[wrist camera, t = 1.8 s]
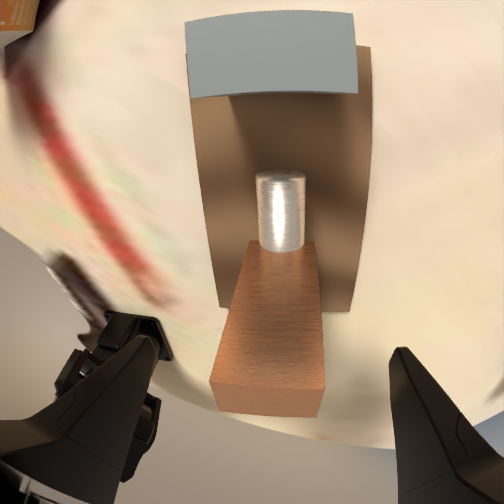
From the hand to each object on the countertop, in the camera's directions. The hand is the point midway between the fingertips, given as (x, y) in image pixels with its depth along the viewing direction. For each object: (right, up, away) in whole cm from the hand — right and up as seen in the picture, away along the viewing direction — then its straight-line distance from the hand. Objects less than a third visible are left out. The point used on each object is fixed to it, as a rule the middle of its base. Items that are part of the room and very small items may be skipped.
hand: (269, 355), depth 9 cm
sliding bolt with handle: (+1, +2, +7) cm, 8 cm away
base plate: (+1, +7, +8) cm, 11 cm away
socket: (+1, +13, +3) cm, 14 cm away
